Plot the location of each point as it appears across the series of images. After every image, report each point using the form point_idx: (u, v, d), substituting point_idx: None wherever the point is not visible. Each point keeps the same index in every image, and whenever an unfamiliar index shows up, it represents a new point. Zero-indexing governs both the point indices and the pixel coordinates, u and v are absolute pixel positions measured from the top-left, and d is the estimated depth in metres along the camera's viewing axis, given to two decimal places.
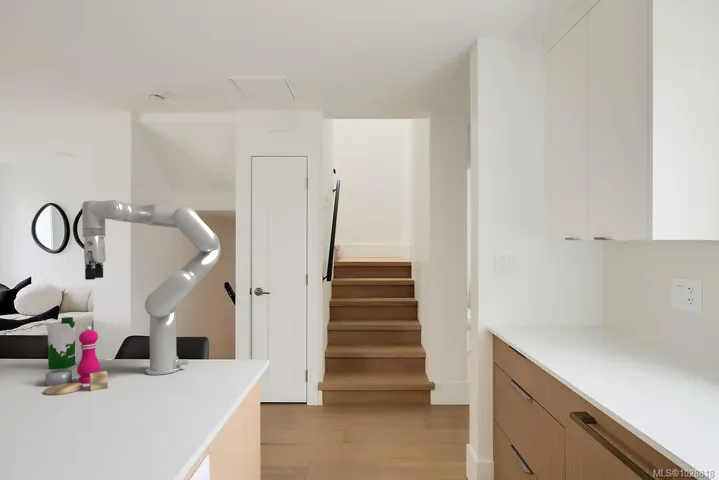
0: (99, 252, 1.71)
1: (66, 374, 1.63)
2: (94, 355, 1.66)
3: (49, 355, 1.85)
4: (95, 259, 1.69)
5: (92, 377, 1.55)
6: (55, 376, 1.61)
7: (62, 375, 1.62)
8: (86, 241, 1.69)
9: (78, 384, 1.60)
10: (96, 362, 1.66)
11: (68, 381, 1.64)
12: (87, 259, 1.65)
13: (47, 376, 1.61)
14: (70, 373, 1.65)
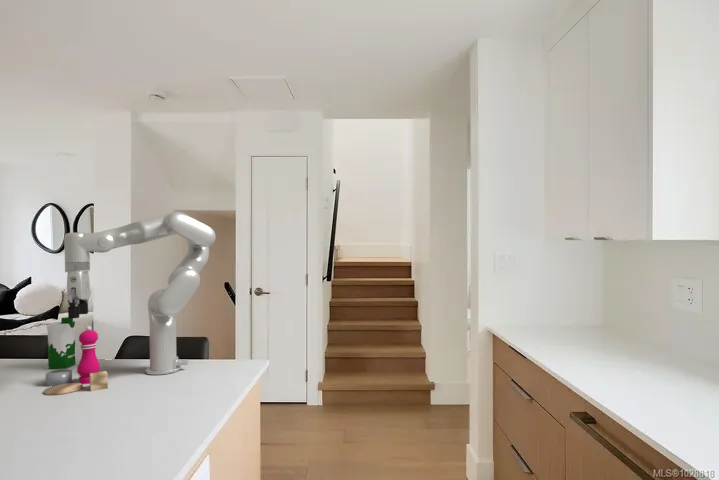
0: (83, 288, 1.59)
1: (66, 374, 1.63)
2: (94, 355, 1.66)
3: (49, 355, 1.85)
4: (79, 296, 1.57)
5: (92, 377, 1.55)
6: (55, 376, 1.61)
7: (62, 375, 1.62)
8: (69, 277, 1.57)
9: (78, 384, 1.60)
10: (96, 362, 1.66)
11: (68, 381, 1.64)
12: (70, 297, 1.53)
13: (47, 376, 1.61)
14: (70, 373, 1.65)
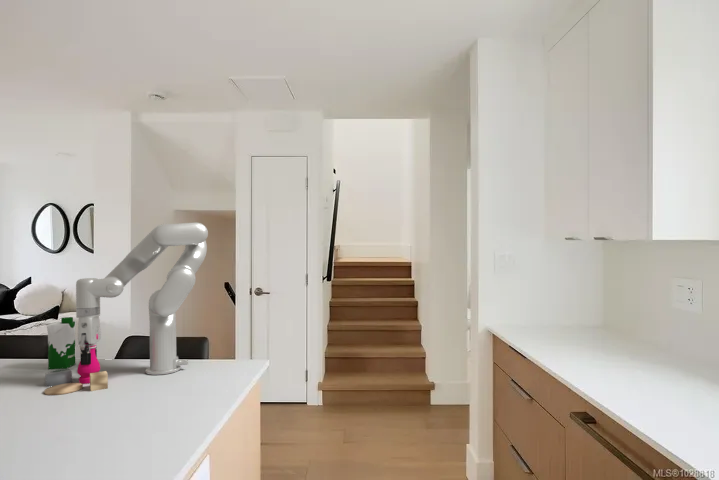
0: (93, 333, 1.64)
1: (66, 373, 1.63)
2: (94, 355, 1.66)
3: (49, 355, 1.85)
4: (89, 341, 1.62)
5: (92, 377, 1.55)
6: (55, 376, 1.61)
7: (62, 374, 1.62)
8: (80, 323, 1.62)
9: (78, 384, 1.60)
10: (96, 362, 1.66)
11: (68, 380, 1.64)
12: (82, 347, 1.59)
13: (47, 376, 1.61)
14: (70, 372, 1.65)
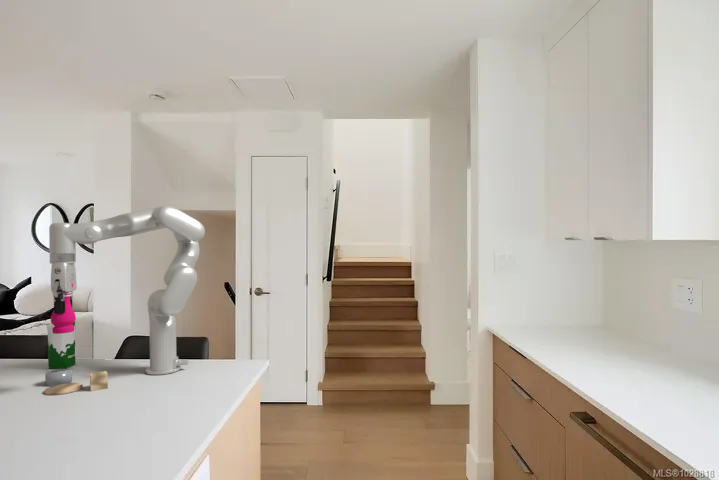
0: (68, 280, 1.54)
1: (68, 372, 1.64)
2: (69, 304, 1.57)
3: (49, 355, 1.85)
4: (63, 288, 1.52)
5: (92, 377, 1.55)
6: (58, 374, 1.61)
7: (65, 373, 1.63)
8: (53, 268, 1.52)
9: (78, 384, 1.60)
10: (71, 311, 1.56)
11: (70, 379, 1.65)
12: (55, 293, 1.50)
13: (49, 375, 1.61)
14: (71, 371, 1.66)
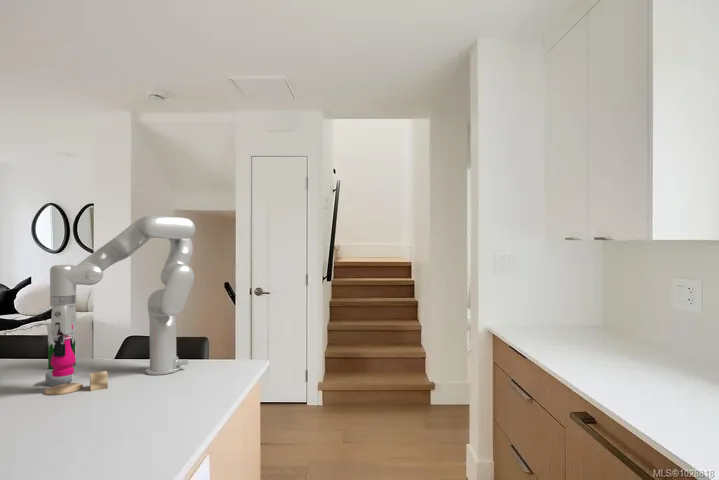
0: (68, 323, 1.54)
1: None
2: (69, 346, 1.56)
3: (49, 355, 1.85)
4: (63, 331, 1.52)
5: (92, 377, 1.55)
6: None
7: None
8: (53, 311, 1.52)
9: (78, 384, 1.60)
10: (71, 354, 1.56)
11: (71, 378, 1.66)
12: (55, 337, 1.50)
13: None
14: None
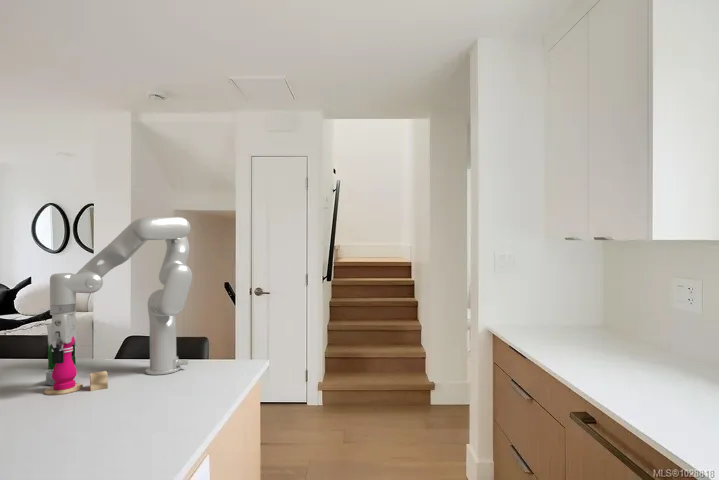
0: (68, 331, 1.54)
1: None
2: (70, 359, 1.57)
3: (49, 355, 1.85)
4: (63, 340, 1.52)
5: (92, 377, 1.55)
6: None
7: None
8: (53, 320, 1.52)
9: (78, 384, 1.60)
10: (72, 367, 1.56)
11: None
12: (54, 342, 1.48)
13: None
14: None
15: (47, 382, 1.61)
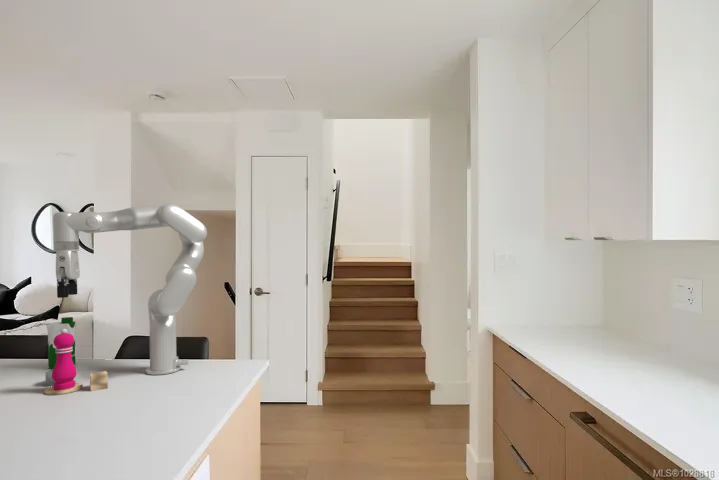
0: (72, 267, 1.58)
1: None
2: (70, 360, 1.56)
3: (49, 355, 1.85)
4: (68, 275, 1.57)
5: (92, 377, 1.55)
6: None
7: None
8: (58, 256, 1.56)
9: (78, 384, 1.60)
10: (72, 367, 1.56)
11: None
12: (59, 276, 1.53)
13: None
14: None
15: (50, 384, 1.61)
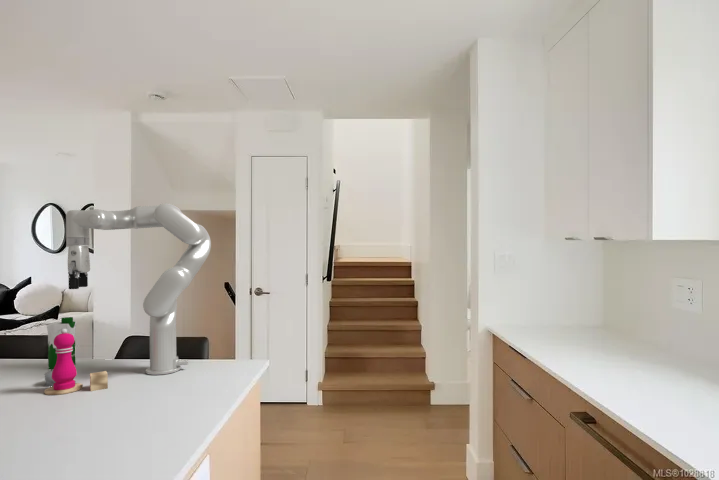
0: (83, 261, 1.71)
1: None
2: (70, 360, 1.56)
3: (49, 355, 1.85)
4: (79, 269, 1.70)
5: (92, 377, 1.55)
6: None
7: None
8: (70, 251, 1.69)
9: (78, 384, 1.60)
10: (72, 367, 1.56)
11: None
12: (70, 269, 1.66)
13: None
14: None
15: None
